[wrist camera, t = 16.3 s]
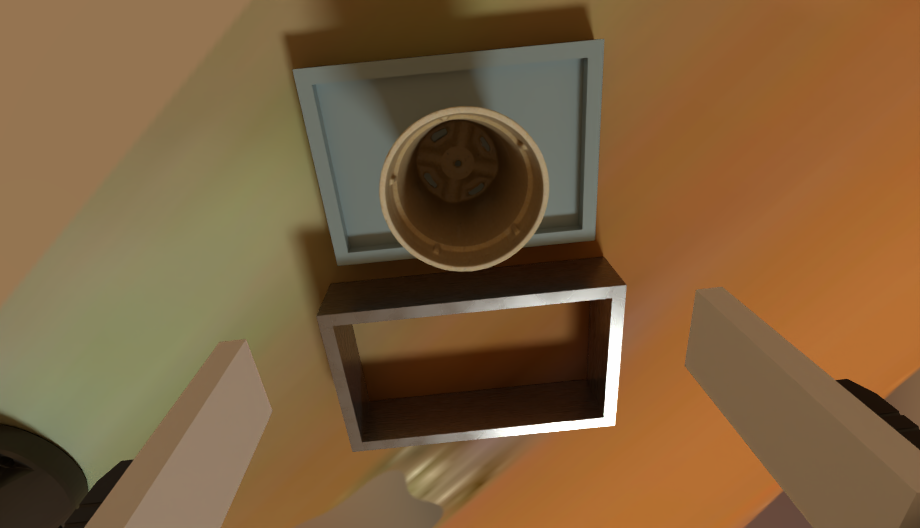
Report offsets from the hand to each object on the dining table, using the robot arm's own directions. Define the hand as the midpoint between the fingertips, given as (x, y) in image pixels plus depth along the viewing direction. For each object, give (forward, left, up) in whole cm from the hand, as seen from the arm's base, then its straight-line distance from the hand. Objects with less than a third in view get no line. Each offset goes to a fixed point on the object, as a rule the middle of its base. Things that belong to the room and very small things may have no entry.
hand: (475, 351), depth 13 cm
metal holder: (0, -16, -23) cm, 28 cm away
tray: (0, +1, -23) cm, 23 cm away
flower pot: (+1, +1, -22) cm, 22 cm away
